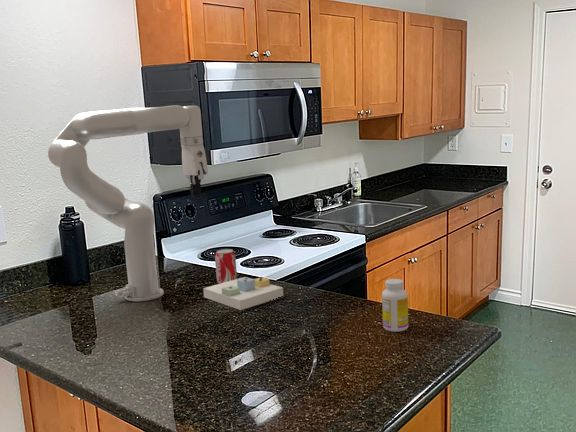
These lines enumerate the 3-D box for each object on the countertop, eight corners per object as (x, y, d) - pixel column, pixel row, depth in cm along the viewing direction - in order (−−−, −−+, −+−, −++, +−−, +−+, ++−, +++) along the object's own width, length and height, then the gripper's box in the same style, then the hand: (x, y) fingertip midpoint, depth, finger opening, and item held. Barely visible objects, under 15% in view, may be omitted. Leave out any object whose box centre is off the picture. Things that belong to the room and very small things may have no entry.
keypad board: (240, 310, 177) (239, 300, 176) (204, 297, 192) (203, 288, 191) (283, 296, 187) (282, 287, 187) (245, 285, 202) (245, 276, 202)
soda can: (234, 287, 201) (231, 253, 199) (214, 287, 202) (211, 253, 200) (239, 281, 207) (237, 248, 205) (220, 281, 209) (218, 248, 207)
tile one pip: (230, 303, 181) (229, 290, 181) (222, 300, 184) (221, 287, 184) (240, 300, 184) (239, 287, 183) (233, 297, 187) (232, 284, 186)
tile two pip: (245, 294, 185) (244, 281, 184) (237, 292, 188) (236, 279, 187) (255, 291, 187) (254, 279, 187) (247, 289, 190) (246, 276, 190)
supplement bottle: (410, 324, 157) (409, 278, 155) (406, 333, 151) (405, 285, 149) (385, 322, 160) (383, 277, 157) (380, 331, 154) (379, 284, 151)
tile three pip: (260, 293, 189) (259, 281, 188) (252, 291, 192) (252, 279, 191) (270, 291, 192) (269, 278, 191) (262, 288, 195) (261, 276, 194)
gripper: (212, 141, 198) (216, 195, 201) (191, 141, 210) (195, 192, 213) (192, 143, 193) (197, 198, 197) (172, 143, 205) (176, 195, 208)
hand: (196, 195), depth 205 cm, fingers closed
